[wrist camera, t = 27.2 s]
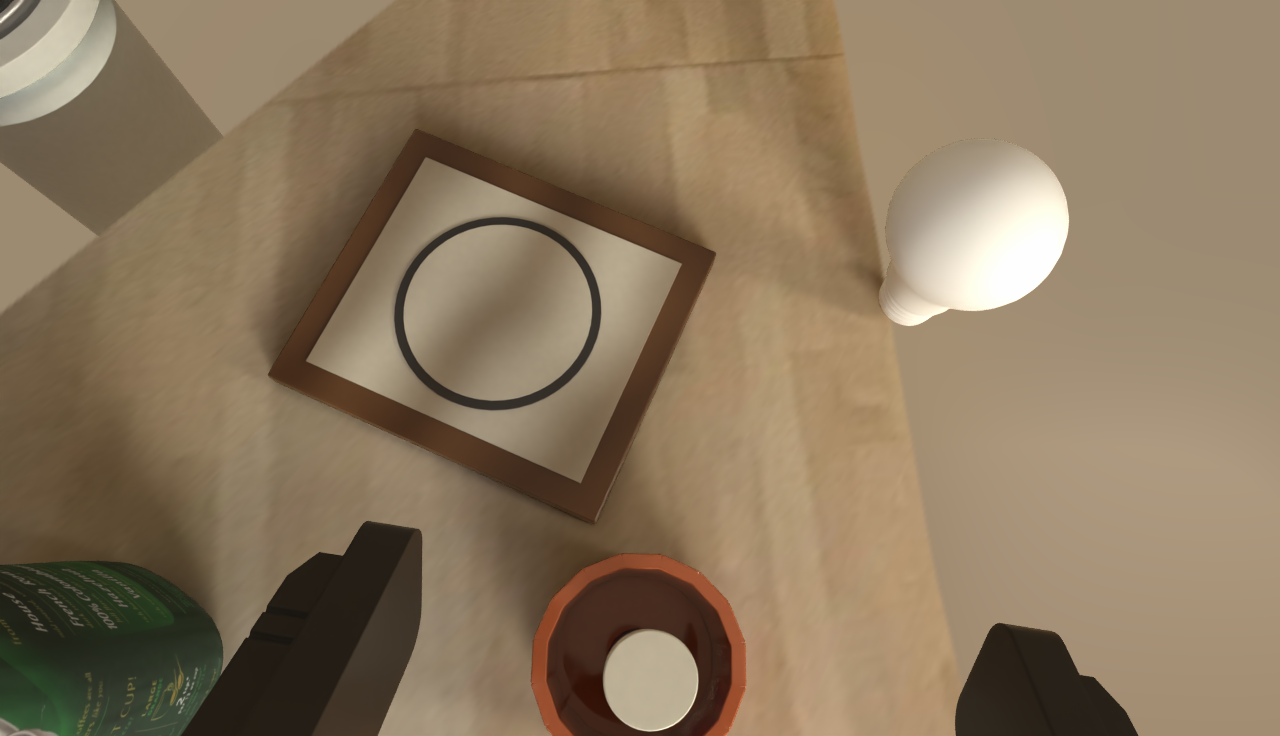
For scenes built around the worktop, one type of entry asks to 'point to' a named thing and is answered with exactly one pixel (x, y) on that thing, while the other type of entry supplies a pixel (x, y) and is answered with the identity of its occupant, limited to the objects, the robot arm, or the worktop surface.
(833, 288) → the worktop surface
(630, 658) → the cylinder
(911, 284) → the lightbulb
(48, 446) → the worktop surface
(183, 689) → the coffee jar
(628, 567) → the pen pot
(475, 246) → the picture frame
